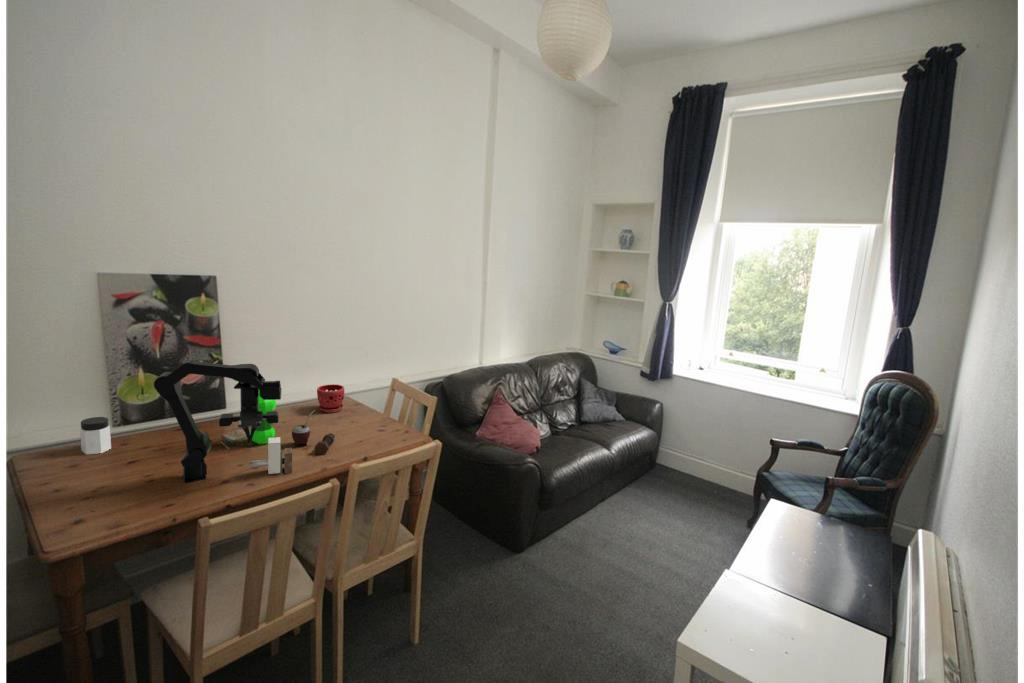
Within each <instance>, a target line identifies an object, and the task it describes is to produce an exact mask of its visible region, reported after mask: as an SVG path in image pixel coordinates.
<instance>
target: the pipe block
mask: <svg viewBox="0 0 1024 683" xmlns="http://www.w3.org/2000/svg"><path fill="white" fill-rule="evenodd" d="M283 454H284V457H283V458H285V464H283V465H284V467H283V468H284V470H283V468H282V471H280V473H276V475H277V474H278V475H283V473H284V474H286V473H288V474H293V449H292V447H287V448H284V453H283ZM283 471H284V472H283Z"/></svg>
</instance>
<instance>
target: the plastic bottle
mask: <svg viewBox="0 0 1024 683" xmlns="http://www.w3.org/2000/svg"><path fill="white" fill-rule="evenodd" d="M258 401H259V411H263V415H267V412H269V411H275V410H276V408H277V400H263V399H262V398H261V397H260V389H258ZM249 432H250V433H251V429H249ZM275 436H276V430H275V428H274V423H270V424H269V423H268V422H267V420H263V421H261V426H258V427H257V428H256V430H255V432H254V435H253V438H252V440H251V442H252V441H253V443H255V444H256V443H257V444H256V445H266V444H268V438H275Z"/></svg>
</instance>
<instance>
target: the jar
mask: <svg viewBox="0 0 1024 683" xmlns="http://www.w3.org/2000/svg"><path fill="white" fill-rule="evenodd" d="M79 431H80V445H81V447H80V448H81V452H82V453H84V455H98V454H99V453H100V454H103V453H106V452H107V451H109V449H110V450H111V449H112V441H111V440H112V439H111V426H110V425H109V418H107V417H105V416H93V417H89V418H85V419H82V420H81V421H80V428H79Z"/></svg>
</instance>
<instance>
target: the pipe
mask: <svg viewBox="0 0 1024 683" xmlns="http://www.w3.org/2000/svg"><path fill="white" fill-rule="evenodd" d="M284 464H285V458H284V457H282V465H284ZM249 467H250V468H255V467H268V459H260V460H258V459H257V460H250V461H249Z"/></svg>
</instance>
